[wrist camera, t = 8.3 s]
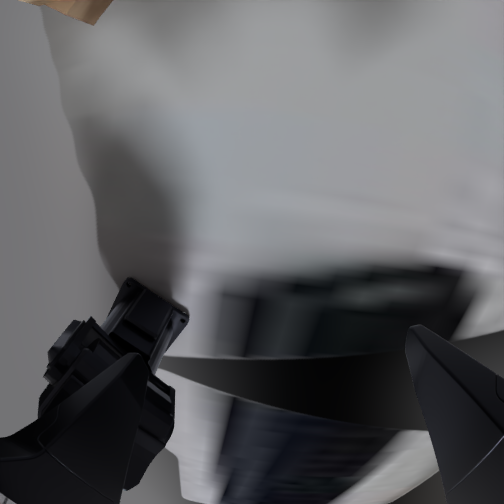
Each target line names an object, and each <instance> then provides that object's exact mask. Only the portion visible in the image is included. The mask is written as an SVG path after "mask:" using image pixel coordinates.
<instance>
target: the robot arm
mask: <svg viewBox="0 0 504 504" xmlns="http://www.w3.org/2000/svg"><path fill="white" fill-rule="evenodd" d="M128 282H129V283H130V284H131V285H130V284H129V283H128ZM181 318H183V319H185V320H182V319H181ZM188 322H189V317H188V315H186V314H185V313H183V312H182V311H180V310H179V309H177V308H175V307H174V306H172V305H171V304H169V303H168V302H166V301H165V300H163V299H162V298H160V297H159V296H157V295H156V294H154V293H153V292H151V291H150V290H148V289H147V288H145V287H144V286H143V285H141V284H140V283H138V282H137V281H135V280H134V279H132V278H127V279H126V280H125V281H124V283H123V285H122V287H121V289H120V291H119V293H118V295H117V297H116V299H115V301H114V303H113V306H112V308H111V310H110V312H109V315H108V317H107V319H106V320H105V321H104V323H103V324H102V325H101V327H100V326H99V325H98V324H97V323H96V321H95V320H94V319H93V318H92V317H91V316H90V317H89V318H88V319H87V320H86V321H84V320H83V321H82V322H80V321H77V320H73V321H72V323H71V324H70V325H69V326H68V327H67V328H66V330H65V331H64V332H63V333H62V335H61V336H60V337H59V338H58V339H57V341H56V342H55V343H54V345H53V346H52V347H51V348H50V350H49V351H48V360H49V363H48V365H47V368H48V369H47V370H46V372H45V374H44V376H43V377H44V378H45V379H46V380H47V381H48V382H49V384H48V385H47V387H46V388H45V389H44V391H43V392H42V394H41V395H40V397H39V405H38V419H37V420H36V421H34V422H33V423H31V424H29V425H28V426H26V427H24V428H23V429H21V430H20V431H18V432H16V433H15V434H12V435H11V436H8V437H2V438H0V504H119V503H120V499H121V494H122V490H124V491H127V490H129V489H131V488H133V487H134V486H136V485H138V484H139V482H140V480H141V478H142V477H143V475H144V473H145V471H146V469H147V467H148V466H149V464H150V463H151V462H152V460H153V459H154V458H155V456H156V455H157V454H158V453H159V452H160V451H161V450H162V449H163V448H164V447H165V446H166V443H167V442H168V440H169V439H170V437H171V435H172V432H173V429H174V416H175V389H174V388H172V387H171V386H168V385H167V384H165V383H164V382H163V381H161V380H160V379H159V378H158V377H156V376H155V373H156V371H157V368H158V366H159V364H160V361H161V359H162V357H163V355H164V353H165V352H166V351H167V349H168V348H169V347H170V346H171V344H172V343H173V342H174V340H175V339H176V338H177V337H178V335H179V334H180V333H181V332H182V330H183V329H184V328H185V326H186V325H187V324H188ZM405 352H406V356H407V360H408V364H409V368H410V372H411V376H412V380H413V384H414V388H415V392H416V395H417V398H418V401H419V404H420V406H421V409H422V413H423V416H424V419H425V422H426V425H427V428H428V431H429V435H430V438H431V441H432V445H433V448H434V452H435V455H436V459H437V463H438V466H439V470H440V474H441V478H442V482H443V487H444V491H445V494H446V501H447V504H504V378H502V377H501V376H499V375H496V373H495V372H493V371H492V370H490V369H489V368H487V367H486V366H484V365H483V364H481V363H480V362H478V361H477V360H475V359H473V358H472V357H471V356H469V355H468V354H466V353H465V352H463V351H461V350H460V349H458V348H457V347H455V346H454V345H452V344H451V343H449V342H448V341H446V340H444V339H443V338H441V337H440V336H438V335H437V334H435V333H434V332H432V331H430V330H429V329H427V328H426V327H424V326H423V325H415V326H411V327H409V329H408V333H407V339H406V344H405Z"/></svg>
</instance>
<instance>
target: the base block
mask: <svg viewBox="0 0 504 504" xmlns="http://www.w3.org/2000/svg"><path fill="white" fill-rule="evenodd" d="M112 1H113V0H60V1H56V2H52V3H48V4H44V5H46V6H48V7H51V8H53V9H55V10H57V11H59V12H61V13H63V14H65V15H67V16H70V17H72V18H75V19H78V20H80V21H83V22H86V23H88V24H91V25H93V26H94V24H95V23H96V22H97V20H98V19H99V18H100V16H101V15H102V14H103V12H104V11H105V10H106V9H107V7H108V6H109V5H110V4H111V2H112Z"/></svg>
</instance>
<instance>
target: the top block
mask: <svg viewBox="0 0 504 504" xmlns="http://www.w3.org/2000/svg"><path fill="white" fill-rule="evenodd" d="M19 1H23V2H26V3H30V4H34V5H37V6H41V5H44V4H48V3H52V2H56V1H60V0H19Z"/></svg>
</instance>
